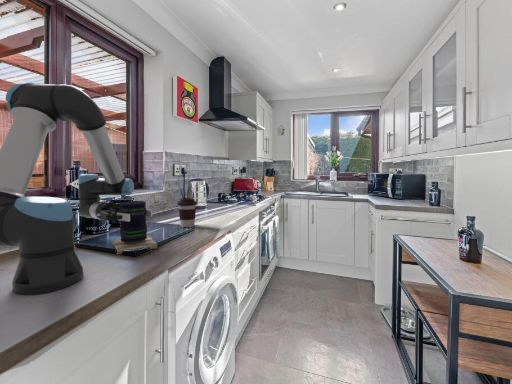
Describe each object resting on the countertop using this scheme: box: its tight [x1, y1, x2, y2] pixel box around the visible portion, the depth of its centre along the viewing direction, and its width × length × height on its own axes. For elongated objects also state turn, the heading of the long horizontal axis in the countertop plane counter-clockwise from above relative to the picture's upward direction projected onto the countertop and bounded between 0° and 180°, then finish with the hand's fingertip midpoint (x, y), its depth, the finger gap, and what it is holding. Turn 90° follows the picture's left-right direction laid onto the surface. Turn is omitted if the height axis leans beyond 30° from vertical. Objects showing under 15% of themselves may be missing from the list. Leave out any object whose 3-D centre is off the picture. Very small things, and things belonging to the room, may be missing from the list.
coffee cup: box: [177, 197, 198, 228], centre depth 138 cm, size 10×10×15 cm
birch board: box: [112, 235, 158, 255], centre depth 104 cm, size 16×14×2 cm
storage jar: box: [118, 200, 148, 243], centre depth 103 cm, size 10×10×15 cm
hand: (140, 215), depth 101 cm, fingers closed on storage jar, 10 cm apart
